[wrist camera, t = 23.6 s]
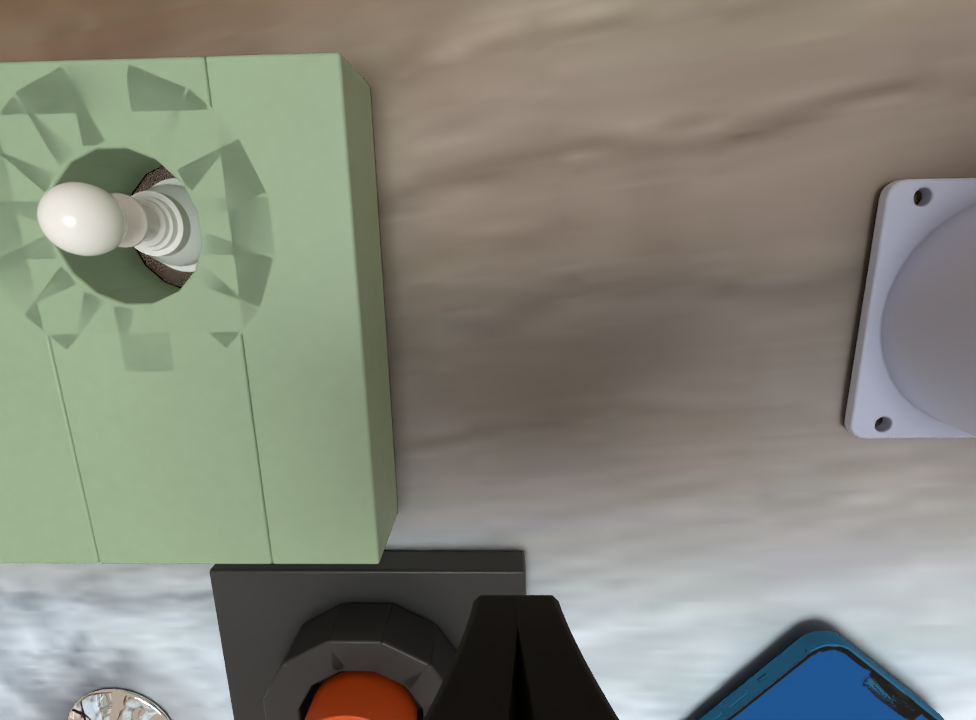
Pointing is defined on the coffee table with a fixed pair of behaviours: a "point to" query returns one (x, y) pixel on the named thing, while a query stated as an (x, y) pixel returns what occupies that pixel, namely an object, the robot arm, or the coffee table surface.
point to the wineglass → (115, 707)
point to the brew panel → (349, 623)
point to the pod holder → (196, 319)
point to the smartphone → (822, 687)
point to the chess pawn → (123, 222)
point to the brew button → (362, 698)
